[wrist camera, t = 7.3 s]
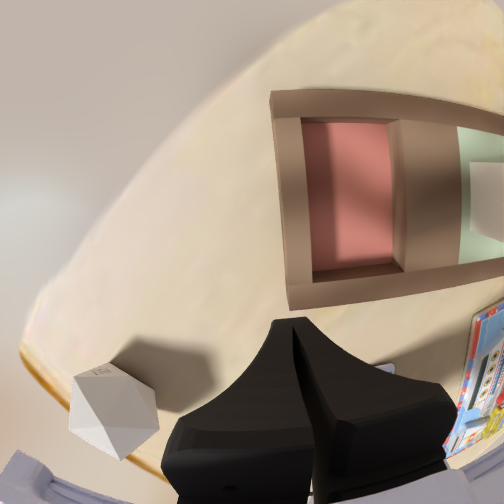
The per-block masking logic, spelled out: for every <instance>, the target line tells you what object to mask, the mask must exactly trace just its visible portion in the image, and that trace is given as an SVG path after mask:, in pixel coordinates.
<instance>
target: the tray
mask: <svg viewBox="0 0 504 504" xmlns="http://www.w3.org/2000/svg"><path fill="white" fill-rule="evenodd" d="M270 110H271V119H272V128H273V137H274V147H275V157H276V167H277V177H278V188H279V199H280V211H281V223H282V235H283V249H284V263H285V278H286V294H287V299H288V304H289V309H290V311H293V310H303V309H313V308H322V307H330V306H338V305H346V304H354V303H361V302H368V301H375V300H382V299H388V298H395V297H401V296H407V295H413V294H418V293H424V292H429V291H435V290H440V289H445V288H450V287H455V286H460V285H465V284H469V283H474V282H478V281H483V280H487V279H492V278H496V277H500V276H504V243H502V242H500V241H497V240H495V239H492V238H489V237H487V236H484V235H481V234H478V233H476V232H473V231H470V212H471V186H470V163H469V162H492V163H504V116H501V115H497V114H494V113H491V112H487V111H484V110H480V109H476V108H472V107H468V106H464V105H460V104H455V103H451V102H446V101H441V100H435V99H430V98H424V97H417V96H410V95H403V94H395V93H385V92H374V91H359V90H334V89H305V90H279V91H271V94H270Z"/></svg>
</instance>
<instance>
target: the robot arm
mask: <svg viewBox="0 0 504 504" xmlns="http://www.w3.org/2000/svg"><path fill="white" fill-rule="evenodd" d="M394 371H395V366H394V364H393V363H388V364H384V365H379V366H372V365H370V364H368V363H365V362H363V361H362V360H360V359H358V358H356V357H354V356H353V355H351V354H349V353H348V352H346V351H345V350H343V349H342V348H341V347H339V346H338V345H336V344H335V343H334V342H333V341H331V340H330V339H329V338H328V337H327V336H326V335H324V334H323V333H322V332H321V331H320V330H319V329H318V328H317V327H316V326H315V325H314V324H313V323H312V322H311V321H310V320H309V319H308V318H307V317H297V318H287V319H276V320H273V321H272V323H271V328H270V330H269V333H268V335H267V338H266V340H265V341H264V343H263V345H262V347H261V349H260V351H259V352H258V354H257V355H256V357H255V358H254V360H253V361H252V362H251V364H250V365H249V366H248V368H247V369H246V370H245V371H244V372H243V374H242V375H241V376H240V377H239V378H238V379H237V380H236V381H235V382H234V383H233V384H232V385H231V386H230V387H228V388H227V389H226V390H225V391H224V392H222V393H221V394H220V395H218V396H217V397H216V398H214V399H213V400H211V401H210V402H208V403H207V404H205V405H203V406H202V407H200V408H198V409H196V410H194V411H192V412H190V413H189V414H187V415H185V416H183V417H180V418H179V419H178V421H177V423H176V425H175V427H174V429H173V431H172V433H171V435H170V437H169V439H168V442H167V445H166V448H165V451H164V455H163V458H162V462H161V469H162V471H163V474H164V475H165V477H166V478H167V480H168V481H169V482H170V484H171V485H172V487H173V488H174V489H175V490H176V492H177V493H178V495H179V497H178V501H177V504H504V443H503V444H501V445H500V446H498V447H497V448H495V449H494V450H492V451H490V452H488V453H487V454H485V455H483V456H482V457H480V458H478V459H477V460H475V461H473V462H471V463H469V464H467V465H465V466H463V467H461V468H459V469H451V468H450V466H449V464H448V463H447V461H446V459H445V458H446V452H445V450H444V448H443V444H444V443H445V441H446V439H447V437H448V436H449V434H450V432H451V430H452V428H453V427H454V424H455V422H456V419H457V416H458V409H457V407H456V405H455V404H454V402H453V401H452V399H451V398H450V396H449V395H448V393H447V392H446V391H445V390H444V388H443V387H442V386H441V385H440V384H438V383H431V382H425V381H419V380H414V379H409V378H406V377H402V376H399V375H395V374H394ZM311 479H312V487H313V496H311V498H310V499H309V502H308V503H307V501H308V497H309V494H310V487H311ZM0 503H1V504H133V503H129V502H125V501H122V500H118V499H115V498H112V497H108V496H105V495H102V494H99V493H96V492H93V491H90V490H88V489H85V488H82V487H79V486H77V485H75V484H72V483H70V482H67V481H65V480H63V479H60V478H58V477H56V476H54V475H53V473H52V472H51V471H50V470H49V469H48V468H47V467H46V466H45V465H44V464H43V463H41V462H40V461H39V460H37V459H36V458H34V457H32V456H30V455H28V454H26V453H24V452H22V451H20V450H17V451H16V452H15V453H14V455H13V456H12V458H11V459H10V461H9V462H8V464H7V465H6V467H5V468H4V470H3V471H2V473H1V474H0Z"/></svg>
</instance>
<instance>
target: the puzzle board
mask: <svg viewBox="0 0 504 504" xmlns="http://www.w3.org/2000/svg"><path fill="white" fill-rule="evenodd" d="M455 405H456V407H457V409H458V416H457V419H456V422H455V424H454V427H453V428H452V430H451V432H450V434H449V436H448V437H447V439H446V441H445V443H444V444H443V448H444V450H445V452H446V458H445V459H448V458H450V457H452V456H454V455H455V454H457V453H459V452H461V451H463V450H465V449H466V448H468V447H470V446H472V445H473V444H475V443H477V442H478V441H480V440H482V439H483V438H484V439H487V438H489V437H490V436H492V435H493V434H495V433H496V432H497V431H499V430H500V429H501V428H502V427H503V426H504V298H502V299H501V300H499V301H497V302H495V303H494V304H492V305H490V306H488V307H486V308H484V309H483V310H481V311H479V312H477V313H475V314H474V315H473V317H472V321H471V329H470V336H469V343H468V349H467V355H466V360H465V366H464V370H463V375H462V380H461V384H460V388H459V392H458V396H457V400H456V403H455Z"/></svg>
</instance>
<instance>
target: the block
mask: <svg viewBox="0 0 504 504" xmlns="http://www.w3.org/2000/svg"><path fill="white" fill-rule="evenodd" d="M469 163H470V186H471V212H470V231H473V232H476V233H478V234H481V235H484V236H487V237H489V238H492V239H495V240H497V241H500V242H502V243H504V163H492V162H469Z"/></svg>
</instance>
